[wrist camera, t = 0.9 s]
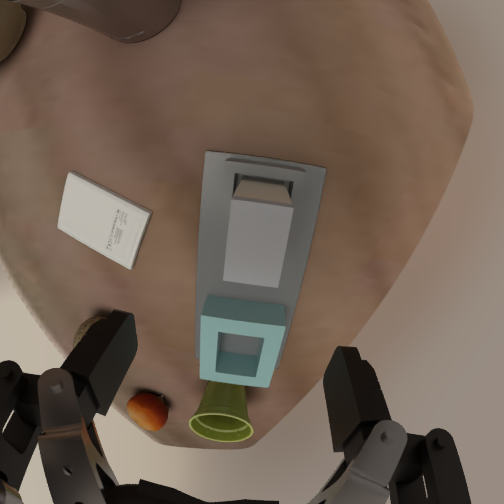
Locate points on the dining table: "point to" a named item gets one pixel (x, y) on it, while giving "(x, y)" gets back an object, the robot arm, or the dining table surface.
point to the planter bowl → (10, 26)
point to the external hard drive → (102, 219)
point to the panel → (247, 295)
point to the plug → (257, 232)
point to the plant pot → (222, 413)
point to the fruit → (148, 411)
